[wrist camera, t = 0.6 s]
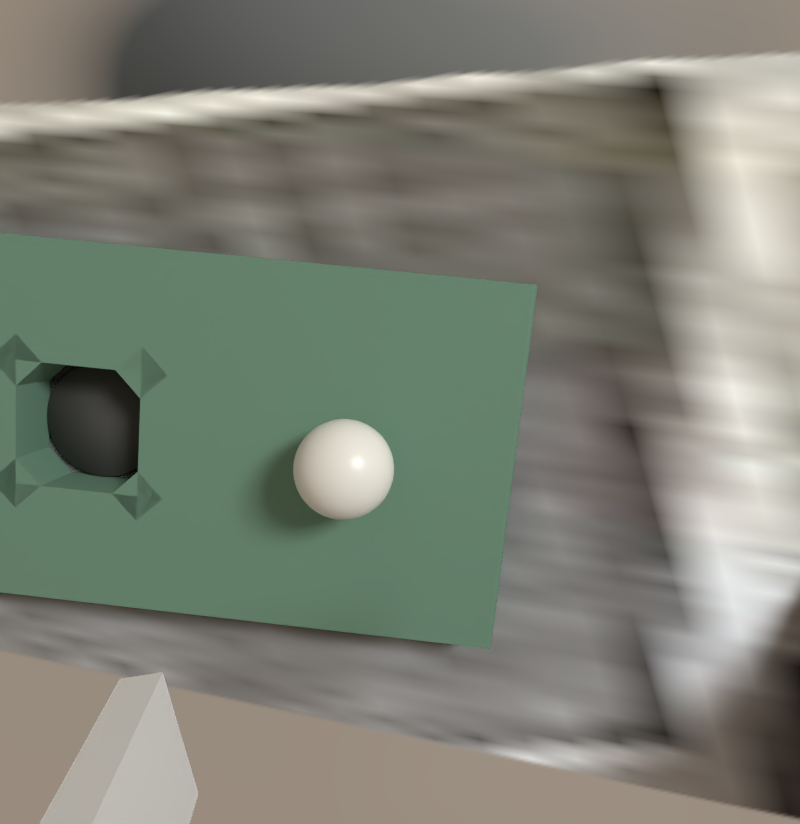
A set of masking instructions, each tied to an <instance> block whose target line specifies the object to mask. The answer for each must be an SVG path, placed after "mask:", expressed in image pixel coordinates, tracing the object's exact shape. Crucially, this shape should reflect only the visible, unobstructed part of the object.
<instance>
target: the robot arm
mask: <svg viewBox="0 0 800 824" xmlns="http://www.w3.org/2000/svg"><path fill="white" fill-rule="evenodd" d="M197 797H198V790H197V787H196V783H195V780H194V777H193V773H192V770H191V767H190V763H189V760H188V756H187V753H186V750H185V746H184V743H183V740H182V736H181V733H180V729H179V726H178V722H177V719H176V716H175V713H174V709H173V706H172V702H171V699H170V695H169V692H168V689H167V685H166V682H165V678H164V675H163V672H161V673H155V674H148V675H142V676H135V677H129V678H123V679H120V680H119V681H118V683H117V685H116V687H115V689H114V690H113V692H112V694H111V696H110V697H109V699H108V701H107V703H106V705H105V706H104V708H103V710H102V712H101V714H100V715H99V717H98V719H97V721H96V723H95V724H94V726H93V728H92V730H91V731H90V733H89V735H88V737H87V739H86V740H85V742H84V744H83V746H82V748H81V750H80V751H79V753H78V755H77V757H76V759H75V760H74V762H73V764H72V766H71V767H70V769H69V771H68V773H67V775H66V777H65V778H64V780H63V782H62V784H61V786H60V787H59V789H58V791H57V793H56V794H55V796H54V798H53V800H52V802H51V804H50V805H49V807H48V809H47V811H46V813H45V815H44V816H43V818H42V820H41V821H40V823H39V824H190V821H191V818H192V814H193V811H194V807H195V804H196V801H197Z"/></svg>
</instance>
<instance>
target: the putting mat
mask: <svg viewBox="0 0 800 824" xmlns="http://www.w3.org/2000/svg"><path fill="white" fill-rule="evenodd" d="M536 293H537V285H534V284H523V283H513V282H503V281H492V280H482V279H472V278H461V277H451V276H440V275H430V274H420V273H409V272H399V271H389V270H378V269H368V268H358V267H347V266H337V265H327V264H316V263H306V262H295V261H285V260H275V259H264V258H254V257H244V256H233V255H223V254H213V253H202V252H192V251H182V250H171V249H161V248H150V247H140V246H130V245H119V244H109V243H99V242H88V241H78V240H68V239H57V238H47V237H37V236H26V235H16V234H5V233H0V592H1V593H10V594H19V595H28V596H36V597H45V598H54V599H62V600H71V601H80V602H88V603H97V604H106V605H115V606H123V607H132V608H141V609H149V610H158V611H167V612H175V613H184V614H193V615H201V616H210V617H219V618H228V619H236V620H245V621H254V622H262V623H271V624H280V625H288V626H297V627H306V628H314V629H323V630H332V631H341V632H349V633H358V634H367V635H375V636H384V637H393V638H401V639H410V640H419V641H427V642H436V643H445V644H454V645H462V646H471V647H480V648H488V649H491V642H492V634H493V626H494V618H495V611H496V603H497V595H498V587H499V579H500V572H501V564H502V556H503V548H504V541H505V533H506V525H507V517H508V510H509V502H510V494H511V486H512V479H513V471H514V463H515V455H516V448H517V440H518V432H519V424H520V417H521V409H522V401H523V393H524V386H525V378H526V370H527V362H528V355H529V347H530V339H531V331H532V324H533V316H534V308H535V300H536ZM66 365H72V366H81V367H78V368H76V369H74V370H72V371H71V372H69V373H68V374H66V375H65V376H64V377H63V378H62V379H61V380H60V381H59V382H58V384H57V385H56V387H55V388H54V390H53V392H52V394H51V397H50V380H51V379H52V378H53V377H54V376H55V375H56V374H58V373H59V372H60V371H61V370H62V369H63V368H64V367H65V366H66ZM336 419H351V420H357V421H360V422H363V423H365V424H367V425H369V426H370V427H372V428H374V429H375V430H376V431H377V432H378V433H379V434H380V435H381V436H382V437H383V438H384V439H385V441H386V442H387V444H388V446H389V448H390V450H391V453H392V456H393V461H394V477H393V482H392V485H391V488H390V490H389V492H388V494H387V496H386V497H385V499H384V500H383V501H382V502H381V504H380V505H379V506H377V507H376V508H375V509H374V510H372V511H371V512H369V513H368V514H366V515H364V516H361V517H359V518H355V519H349V520H337V519H332V518H328V517H325V516H323V515H321V514H319V513H317V512H315V511H314V510H313V509H311V508H310V507H309V506H308V505H307V504H306V503H305V502H304V500H303V499H302V497H301V496H300V494H299V492H298V490H297V488H296V485H295V481H294V475H293V464H294V458H295V455H296V452H297V449H298V447H299V445H300V444H301V442H302V441H303V439H304V438H305V437H306V435H307V434H308V433H310V432H311V431H312V430H313V429H314V428H316V427H317V426H319V425H321V424H323V423H325V422H328V421H331V420H336ZM50 435H51V437H52V440H53V442H54V444H55V445H56V447H57V449H58V450H59V451H60V453H61V454H62V455H63V456H64V457H65V458H66V459H67V460H68V461H69V462H70V463H71V464H73V465H74V466H75V467H77V468H79V469H80V470H82V471H85V472H87V473H90V474H86V473H76V472H72V471H71V470H70V469H69V468H68V467H67V466H66V465H65V463H64V462H63V461H62V460H61V459H60V458H59V457H58V456H57V455H56V453H55V452H54V451H53V450H52V449H51V448H50ZM136 468H138V472H137V473H136V474H134V475H133V476H132V477H131V478H122V477H113V476H118V475H122V474H125V473H128V472H130V471H132V470H134V469H136Z"/></svg>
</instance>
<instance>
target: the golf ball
mask: <svg viewBox="0 0 800 824" xmlns="http://www.w3.org/2000/svg"><path fill="white" fill-rule="evenodd" d="M293 475H294V481H295V485H296V488H297V490H298V492H299V494H300V496H301V497H302V499H303V500H304V502H305V503H306V504H307V505H308V506H309V507H310V508H311V509H313V510H314V511H315V512H317V513H319V514H321V515H323V516H325V517H328V518H332V519H337V520H349V519H355V518H359V517H361V516H364V515H366V514H368V513H369V512H371V511H372V510H374V509H375V508H376V507H377V506H379V505H380V504H381V502H382V501H383V500H384V499H385V497H386V496H387V494H388V492H389V490H390V488H391V485H392V482H393V477H394V461H393V456H392V453H391V450H390V448H389V446H388V444H387V442H386V441H385V439H384V438H383V437H382V436H381V435H380V434H379V433H378V432H377V431H376V430H375V429H374V428H372V427H370V426H369V425H367V424H365V423H363V422H360V421H357V420H351V419H336V420H331V421H328V422H325V423H323V424H321V425H319V426H317V427H316V428H314V429H313V430H312V431H311V432H310V433H308V434H307V435H306V437H305V438H304V439H303V441H302V442H301V444H300V445H299V447H298V449H297V452H296V455H295V458H294V464H293Z"/></svg>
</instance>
